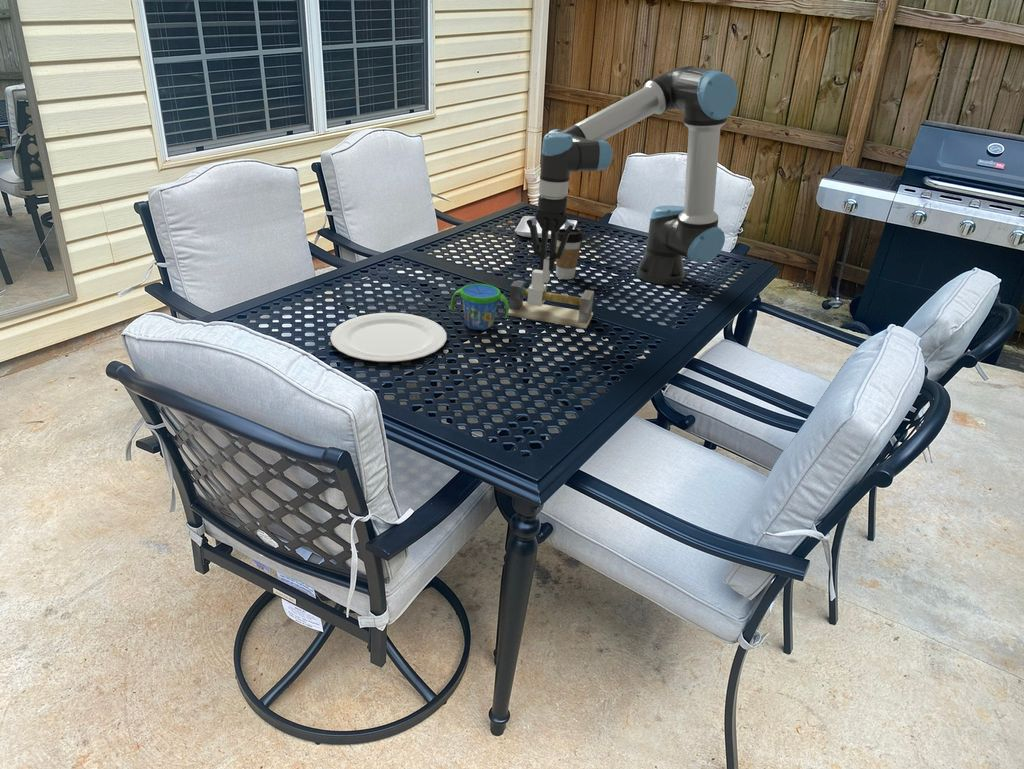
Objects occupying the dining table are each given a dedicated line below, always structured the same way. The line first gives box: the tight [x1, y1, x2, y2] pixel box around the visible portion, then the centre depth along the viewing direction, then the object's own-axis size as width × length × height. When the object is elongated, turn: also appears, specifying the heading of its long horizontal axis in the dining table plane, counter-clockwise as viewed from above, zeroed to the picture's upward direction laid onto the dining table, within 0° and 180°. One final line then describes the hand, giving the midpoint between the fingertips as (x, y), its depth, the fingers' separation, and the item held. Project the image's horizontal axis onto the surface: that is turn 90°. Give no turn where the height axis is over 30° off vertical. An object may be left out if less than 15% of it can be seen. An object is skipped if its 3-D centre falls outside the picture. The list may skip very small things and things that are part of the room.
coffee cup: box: [555, 228, 583, 280], centre depth 234 cm, size 8×8×15 cm
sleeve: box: [526, 269, 548, 307], centre depth 206 cm, size 4×5×9 cm
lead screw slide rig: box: [507, 280, 595, 329], centre depth 207 cm, size 23×10×8 cm, turn 74°
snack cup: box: [450, 283, 509, 331], centre depth 197 cm, size 16×10×10 cm
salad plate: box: [514, 215, 578, 240], centre depth 277 cm, size 21×21×3 cm
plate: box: [330, 312, 448, 363], centre depth 188 cm, size 29×29×2 cm
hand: (545, 280), depth 204 cm, fingers closed
